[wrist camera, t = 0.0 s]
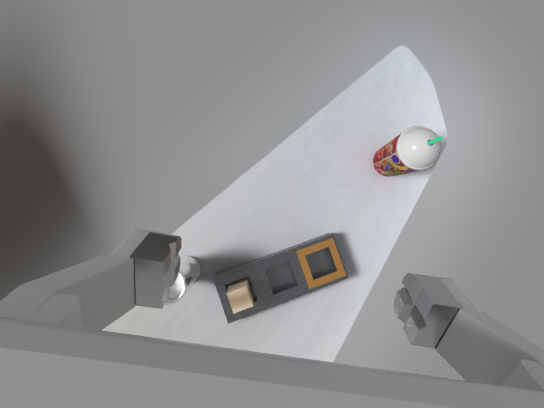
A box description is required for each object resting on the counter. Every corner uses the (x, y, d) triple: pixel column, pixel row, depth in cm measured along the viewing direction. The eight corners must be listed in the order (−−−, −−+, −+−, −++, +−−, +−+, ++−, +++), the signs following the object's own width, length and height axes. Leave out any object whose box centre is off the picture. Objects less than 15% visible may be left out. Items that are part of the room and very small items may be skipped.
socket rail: (328, 233, 65) (332, 234, 62) (342, 275, 65) (348, 278, 61) (214, 274, 63) (212, 277, 59) (229, 317, 63) (228, 323, 59)
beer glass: (201, 252, 63) (185, 261, 48) (203, 284, 63) (188, 303, 48) (169, 255, 63) (143, 266, 48) (171, 287, 62) (146, 308, 47)
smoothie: (375, 185, 67) (428, 170, 47) (362, 152, 67) (408, 123, 47) (407, 172, 68) (472, 152, 48) (393, 140, 68) (452, 106, 48)
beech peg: (253, 295, 62) (253, 306, 54) (235, 301, 62) (233, 313, 54) (247, 277, 63) (246, 286, 55) (229, 284, 62) (226, 293, 54)
